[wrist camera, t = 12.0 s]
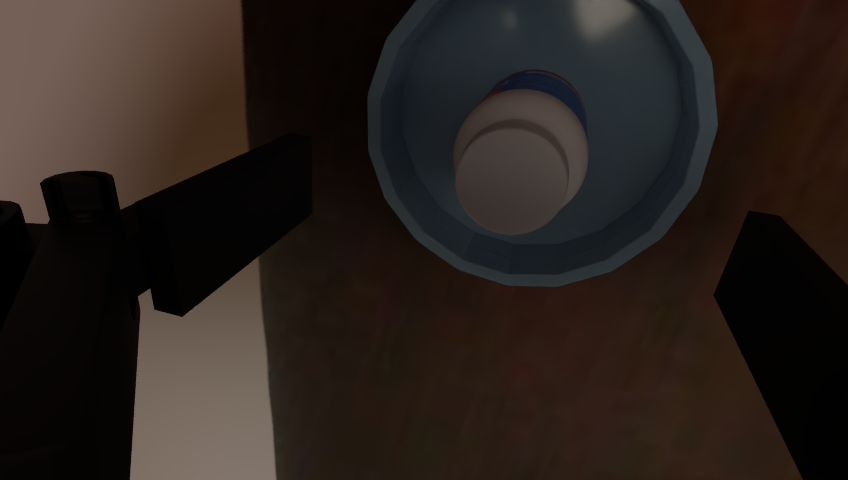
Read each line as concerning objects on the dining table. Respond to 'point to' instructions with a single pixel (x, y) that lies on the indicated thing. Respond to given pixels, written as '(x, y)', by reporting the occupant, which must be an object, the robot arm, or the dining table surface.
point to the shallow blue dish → (605, 111)
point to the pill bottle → (522, 152)
